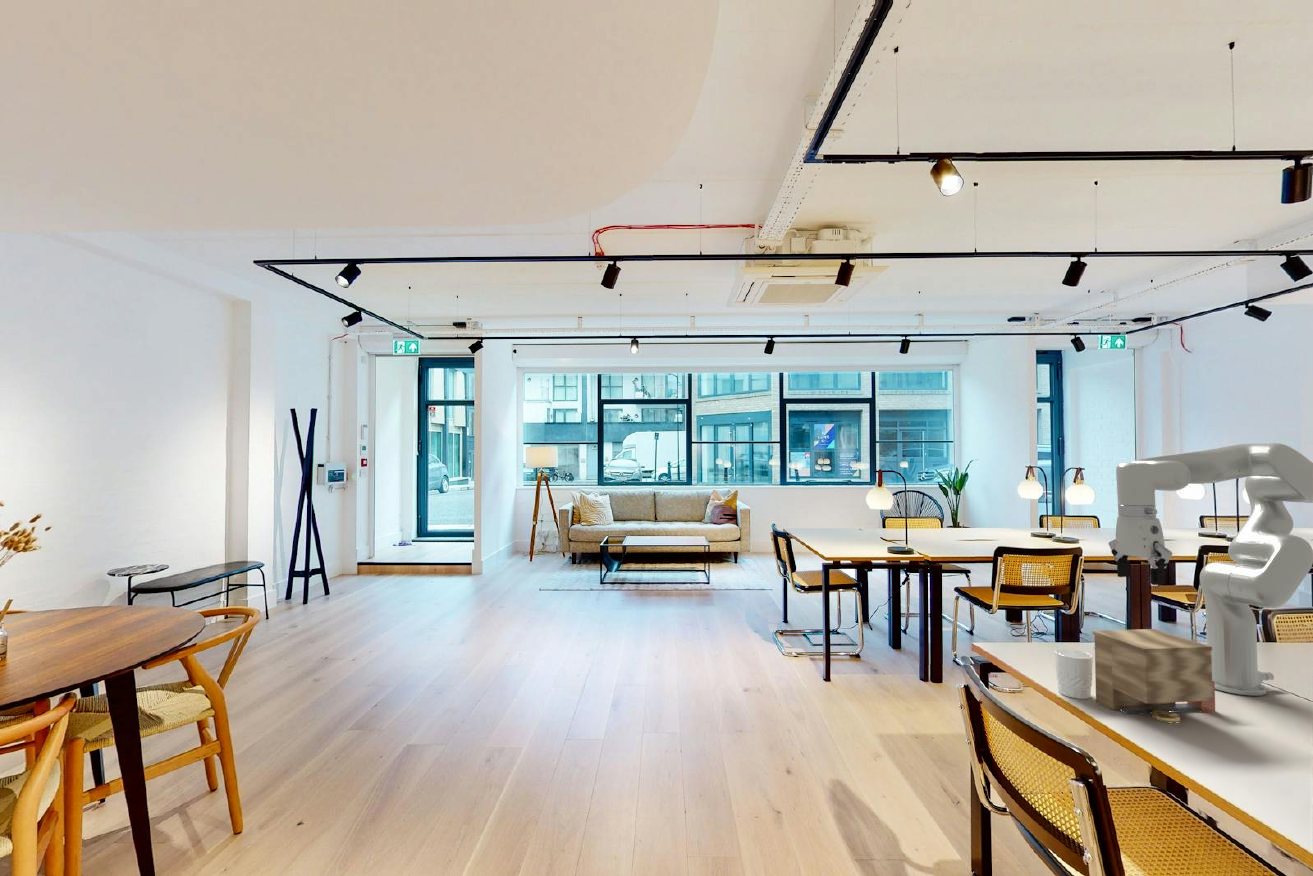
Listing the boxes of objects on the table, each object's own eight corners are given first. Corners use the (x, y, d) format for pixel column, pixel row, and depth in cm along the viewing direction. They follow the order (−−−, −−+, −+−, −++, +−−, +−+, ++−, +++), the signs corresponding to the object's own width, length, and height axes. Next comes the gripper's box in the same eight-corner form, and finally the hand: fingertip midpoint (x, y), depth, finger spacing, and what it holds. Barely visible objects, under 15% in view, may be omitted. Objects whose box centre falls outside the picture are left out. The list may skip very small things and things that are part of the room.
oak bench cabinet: (1156, 698, 153) (1154, 628, 153) (1214, 723, 139) (1212, 646, 139) (1093, 701, 151) (1092, 630, 152) (1146, 726, 137) (1144, 649, 138)
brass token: (1166, 714, 144) (1165, 709, 144) (1186, 724, 139) (1186, 718, 139) (1146, 715, 144) (1145, 710, 144) (1165, 725, 139) (1165, 719, 139)
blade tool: (1200, 705, 149) (1200, 675, 149) (1215, 711, 145) (1214, 681, 145) (1118, 709, 146) (1117, 679, 147) (1130, 715, 143) (1130, 684, 143)
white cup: (1099, 701, 151) (1099, 659, 151) (1063, 699, 153) (1062, 657, 153) (1084, 689, 159) (1083, 649, 159) (1050, 687, 160) (1049, 647, 161)
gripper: (1182, 514, 149) (1186, 587, 148) (1121, 508, 166) (1125, 573, 166) (1153, 516, 148) (1157, 588, 148) (1095, 509, 165) (1098, 574, 165)
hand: (1140, 580), depth 157 cm, fingers open, 9 cm apart
